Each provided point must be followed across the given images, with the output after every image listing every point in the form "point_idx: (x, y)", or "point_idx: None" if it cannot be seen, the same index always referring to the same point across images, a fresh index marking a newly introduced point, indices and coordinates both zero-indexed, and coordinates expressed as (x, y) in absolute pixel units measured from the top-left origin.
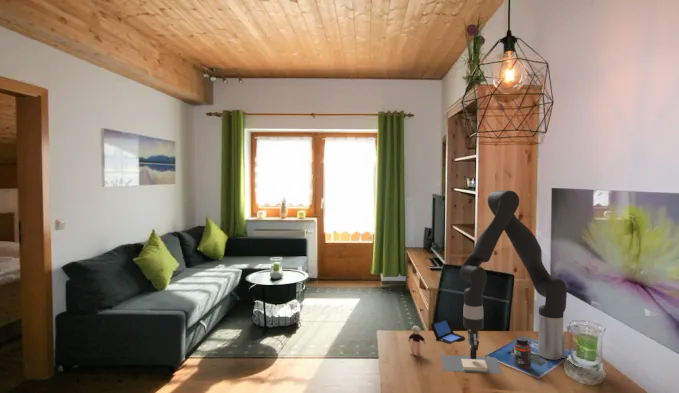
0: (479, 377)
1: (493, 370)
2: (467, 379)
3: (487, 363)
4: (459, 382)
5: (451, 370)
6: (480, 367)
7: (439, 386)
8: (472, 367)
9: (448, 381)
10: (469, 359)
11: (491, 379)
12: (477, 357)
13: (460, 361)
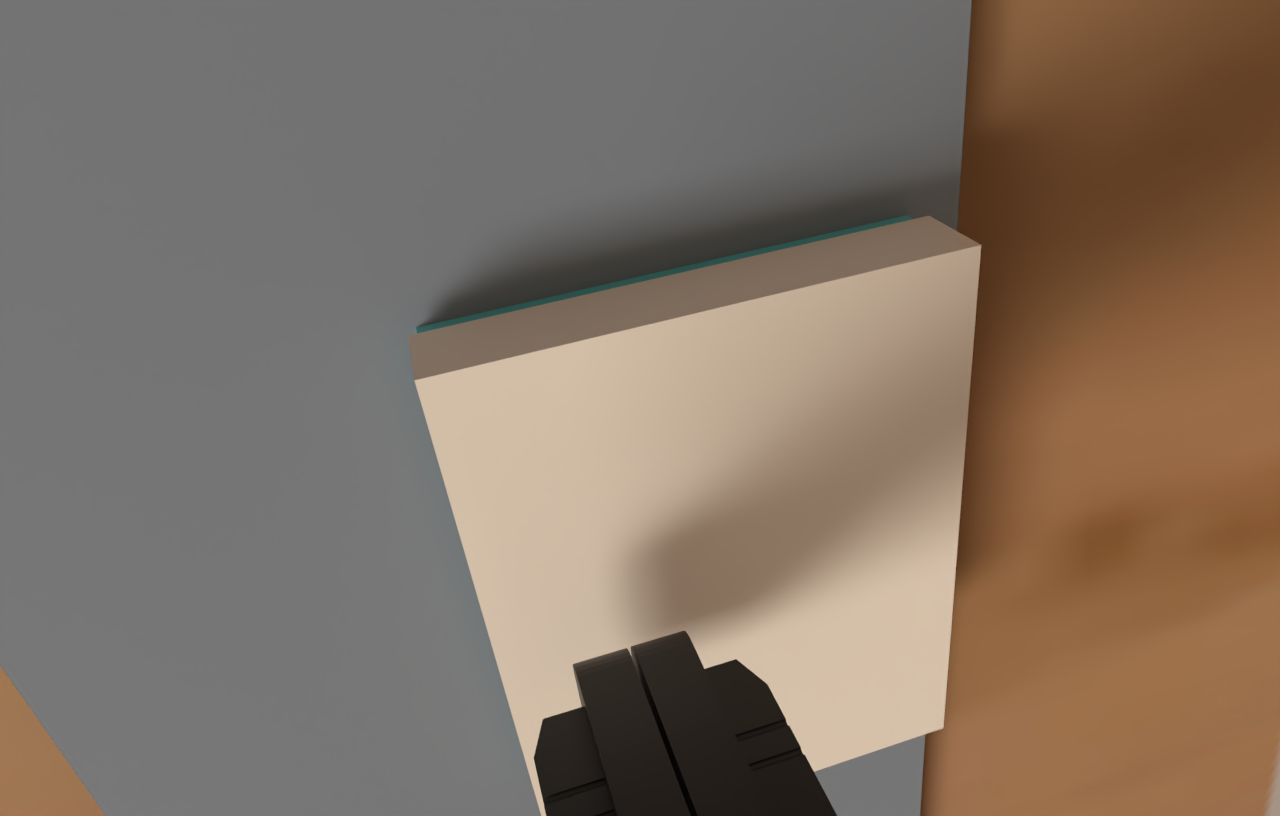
0: (1033, 351)
1: (794, 45)
2: (1104, 527)
3: (340, 241)
4: (1187, 605)
5: (907, 800)
6: (955, 425)
7: (1257, 763)
8: (953, 578)
9: (1150, 723)
10: (541, 722)
11: (1119, 93)
12: (3, 557)
13: (488, 800)
